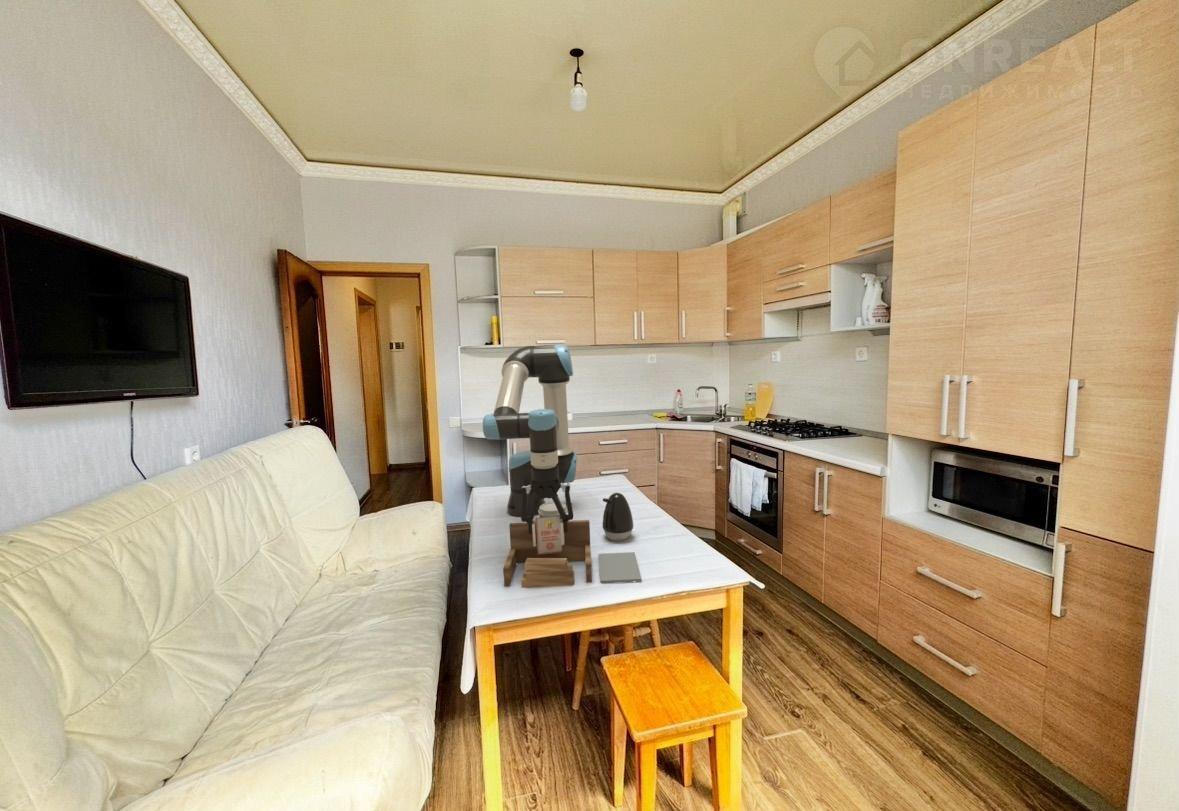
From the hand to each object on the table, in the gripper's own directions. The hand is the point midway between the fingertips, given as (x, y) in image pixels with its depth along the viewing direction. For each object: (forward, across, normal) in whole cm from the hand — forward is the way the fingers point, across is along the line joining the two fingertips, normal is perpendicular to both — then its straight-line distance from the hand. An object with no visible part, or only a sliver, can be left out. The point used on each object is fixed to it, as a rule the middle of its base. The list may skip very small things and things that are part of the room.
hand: (549, 543), depth 127 cm
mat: (+8, +20, -1) cm, 21 cm away
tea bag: (+2, 0, 0) cm, 2 cm away
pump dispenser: (+8, +21, +20) cm, 30 cm away
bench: (+8, 0, -1) cm, 8 cm away
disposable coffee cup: (+8, 0, +19) cm, 20 cm away
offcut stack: (+8, 0, -7) cm, 11 cm away
